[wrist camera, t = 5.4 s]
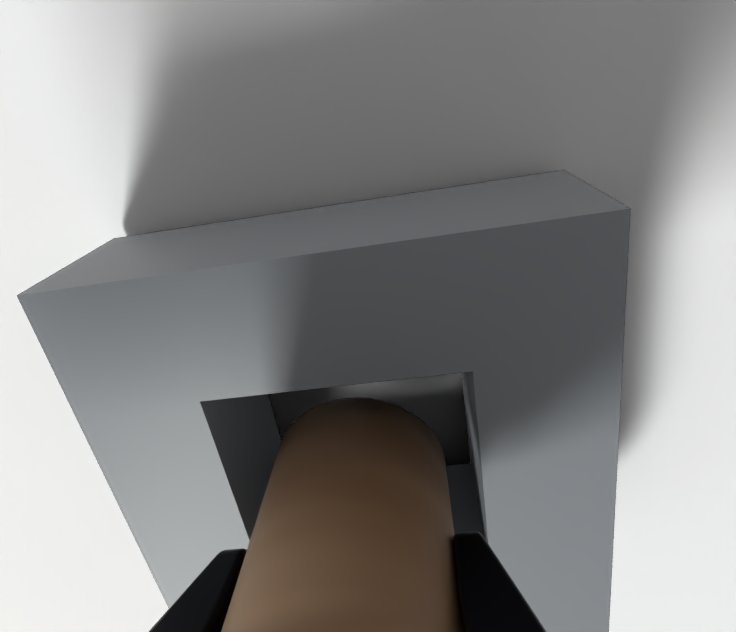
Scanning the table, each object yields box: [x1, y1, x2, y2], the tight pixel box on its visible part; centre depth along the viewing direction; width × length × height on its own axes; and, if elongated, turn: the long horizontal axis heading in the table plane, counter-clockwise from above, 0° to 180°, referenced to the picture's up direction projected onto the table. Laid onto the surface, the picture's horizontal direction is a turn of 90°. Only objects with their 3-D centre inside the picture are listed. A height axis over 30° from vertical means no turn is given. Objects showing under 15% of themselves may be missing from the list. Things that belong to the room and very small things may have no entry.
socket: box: [17, 170, 630, 632], centre depth 11 cm, size 9×9×3 cm
